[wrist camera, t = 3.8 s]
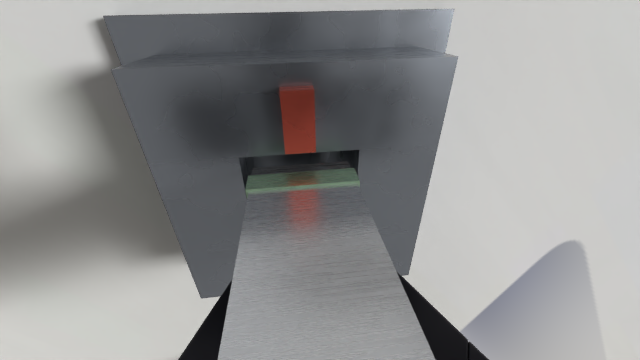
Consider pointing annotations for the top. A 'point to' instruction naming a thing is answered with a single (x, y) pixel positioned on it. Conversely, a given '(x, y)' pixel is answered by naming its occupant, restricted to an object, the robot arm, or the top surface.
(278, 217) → the column
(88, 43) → the top surface
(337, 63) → the housing
